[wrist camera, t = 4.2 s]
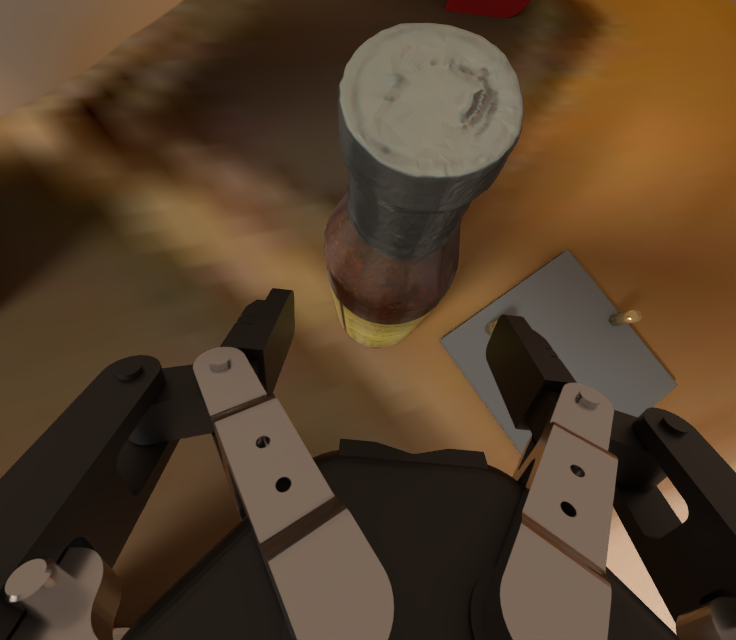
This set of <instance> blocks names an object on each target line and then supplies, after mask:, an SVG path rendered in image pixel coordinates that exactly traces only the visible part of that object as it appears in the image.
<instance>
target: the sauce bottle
mask: <svg viewBox="0 0 736 640" xmlns="http://www.w3.org/2000/svg"><path fill="white" fill-rule="evenodd" d="M523 115H524V106H523V96H522V92H521V88H520V85H519V81H518V77H517V74H516V72H515V71H514V70H513V68H512V67H511V65H510V63H509V61H508V59H507V57H506V56H505V54H504V53H502V52H501V51H500V50H499V49H498V48H497V47H496V46H495V45H493V44H492V43H490V42H489V41H488V40H487V39H485V38H484V37H482V36H480V35H477V34H475V33H472V32H469V31H467V30H463V29H460V28H457V27H454V26H451V25H443V24H434V23H406V24H399V25H396V26H394V27H391V28H388V29H385V30H382V31H380V32H379V33H377V34H376V35H375V36H373V37H371V38H369V39H368V40H367V41H366V42H364V43H363V44H362V45H361V46H360V47H359V48H358V49H357V50H356V51H355V53H354V54H353V56H352V57H351V59H350V60H349V62H348V63H347V65H346V67H345V69H344V72H343V75H342V78H341V82H340V84H339V86H338V121H339V143H340V150H341V153H342V156H343V158H344V162H345V164H346V166H347V168H348V169H349V186H348V189H347V190H348V192H347V193H346V194H345V196H344V197H343V199H342V200H341V201H340V203H339V204H338V205H337V207H336V208H335V209H334V210H333V212H332V214H331V216H330V218H329V221H328V223H327V227H326V230H325V232H324V235H325V246H324V248H325V255H326V261H327V272H328V279H329V283H330V286H331V290H332V294H333V297H334V301H335V305H336V309H337V312H338V316H339V319H340V322H341V325H342V327H343V328H344V329H345V330H346V332H347V334H348V335H349V336H350V337H351V338H352V339H354V340H355V341H357V342H359V343H360V344H363V345H366V346H368V347H372V348H382V347H387V346H391V345H394V344H396V343H398V342H400V341H401V340H403V339H404V338H406V337H407V336H408V335H409V334H410V333H411V332H412V331H413V330H414V329H415V327H416V326H417V325H418V324H419V323H420V322H421V321H422V320H423V319H424V318H425V317H426V316H427V315H428V314H429V313H430V312H431V311H432V310H433V309H434V308H435V307H436V306H437V304H438V303H439V302H440V301H441V300H442V298H443V297H444V296H445V294H446V292H447V291H448V289H449V287H450V285H451V283H452V281H453V279H454V276H455V273H456V270H457V266H458V259H459V240H460V222H461V219H462V216H463V214H464V213H465V212H466V211H467V209H468V207H469V205H470V203H471V202H472V200H474V199H475V198H477V197H478V196H479V195H480V194H481V193H483V192H484V191H486V190H487V189H488V188H489V187H490V186H491V184H492V183H493V182H494V181H495V179H496V178H497V176H498V175H499V173H500V171H501V169H502V168H503V166H504V164H505V162H506V160H507V158H508V156H509V155H510V153H511V152H512V150H513V148H514V147H515V145H516V143H517V142H518V139H519V136H520V133H521V129H522V121H523Z"/></svg>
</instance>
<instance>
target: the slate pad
mask: <svg viewBox="0 0 736 640" xmlns="http://www.w3.org/2000/svg"><path fill="white" fill-rule="evenodd" d="M617 313H619V312H618V310H617V309H616V308H615V307H614V306H613V304H612V303H611V302H610V301H609V299H608V298H607V297H606V296H605V294H604V293H603V292H602V291H601V289H600V288H599V287H598V286H597V284H596V283H595V282H594V281H593V280H592V278H591V277H590V276H589V275H588V273H587V272H586V271H585V270H584V268H583V267H582V266H581V265H580V263H579V262H578V261H577V260H576V259H575V257H574V256H573V255H572V254H571V252H570V251H569V250H566V251H565V252H563V253H562V254H560V255H559V256H557V257H556V258H555V259H553V260H552V261H550V262H549V263H548V264H546V265H545V266H543V267H542V268H541V269H539V270H538V271H536V272H535V273H533V274H532V275H531V276H529V277H528V278H526V279H525V280H524V281H522V282H521V283H519V284H518V285H517V286H515V287H514V288H512V289H511V290H509V291H508V292H507V293H505V294H504V295H502V296H501V297H500V298H498V299H497V300H495V301H494V302H493V303H491V304H490V305H488V306H487V307H485V308H484V309H483V310H481V311H480V312H478V313H477V314H476V315H474V316H473V317H471V318H470V319H469V320H467V321H466V322H464V323H463V324H461V325H460V326H459V327H457V328H456V329H454V330H453V331H452V332H450V333H449V334H447V335H446V336H445V337H443V338H442V339H440V340H439V341H440V342H441V343H442V345H443V346H444V348H445V349H446V350H447V352H448V353H449V355H450V356H451V357H452V359H453V360H454V362H455V363H456V364H457V366H458V367H459V369H460V370H461V371H462V373H463V374H464V375H465V377H466V378H467V380H468V381H469V382H470V384H471V385H472V387H473V388H474V389H475V391H476V392H477V394H478V395H479V396H480V398H481V399H482V401H483V402H484V403H485V405H486V406H487V408H488V409H489V410H490V412H491V413H492V414H493V416H494V417H495V419H496V420H497V421H498V423H499V424H500V426H501V427H502V428H503V430H504V431H505V433H506V434H507V435H508V437H509V438H510V440H511V441H512V442H513V444H514V445H515V446H516V448H517V449H518V451H519V452H520V453H521V455H522V453H523V451H524V449H525V446H526V444H527V442H528V440H529V438H530V437H531V435H532V433H531V431H530V430H520V429H515V426H514V424H513V422H512V419H511V417H510V415H509V412H508V410H507V407H506V405H505V403H504V400H503V398H502V396H501V393H500V391H499V389H498V386H497V384H496V382H495V379H494V377H493V374H492V372H491V370H490V367H489V365H488V363H487V360H486V348H487V344H488V342H489V340H490V337H491V335H488V334H487V333H486V331H485V326H486V325H487V324H488V323H491V322H493V321H496V320H498V318H499V317H500V316H501V315H502V314H505V315H514V316H522V317H524V318H525V320H526V321H527V322H528V324H529V325H530V327H531V328H532V330H535V331H536V332H537V333H539V334H540V335H541V336H542V337H544V338H545V339H546V340H547V341H548V343H549V344H550V346H551V347H552V348H553V351H555V353H556V354H557V355H558V358H559V359H561V361H562V362H563V364H564V365H565V366H566V368H567V369H568V371H569V372H570V373H571V375H572V376H573V378H574V379H575V380H576V382H577V383H580V384H584V385H586V386H589V387H591V388H593V389H595V390H597V391H598V392H600V393H601V394H602V395H604V396H605V397H606V398H607V399H608V400H609V401H610V403H611V404H612V406H613V409H614V410H617V411H620V412H623V413H626V414H629V415H632V416H635V417H639V416H640V415H641V414H642V413H643V412H644V411H645V410H646V409H647V408H652V407H653V406H654V405H655V404H656V403H657V402H658V401H660V400H661V399H662V398H663V397H664V396H665V395H667V394H668V393H669V392H670V391H671V390H672V389H674V388H675V387H676V386H677V383H676V382H675V381H674V380H673V378H672V377H671V376H670V375H669V374H668V372H667V371H666V370H665V369H664V367H663V366H662V365H661V364H660V362H659V361H658V360H657V359H656V357H655V356H654V355H653V354H652V352H651V351H650V350H649V349H648V348H647V346H646V345H645V344H644V343H643V341H642V340H641V339H640V338H639V336H638V335H637V334H636V333H635V331H634V330H633V329H632V328H631V327H630V325H629V324H625V325H620V326H613V325H611V324H610V322H609V317H610V316H611V315H613V314H617Z"/></svg>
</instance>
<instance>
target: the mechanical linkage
mask: <svg viewBox="0 0 736 640" xmlns="http://www.w3.org/2000/svg"><path fill="white" fill-rule="evenodd" d="M530 1H531V0H446V11H450V12H459V13H468V14H476V15H485V16H493V17H502V18H510V17H512V16H514V15H516V14H517V13H519V12H520V11H521V10H523V9H524V8H525V7H526V6H527V4H528V3H529V2H530Z"/></svg>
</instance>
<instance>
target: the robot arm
mask: <svg viewBox="0 0 736 640" xmlns="http://www.w3.org/2000/svg"><path fill="white" fill-rule="evenodd" d="M294 327H295V319H294V293H293V291H292V290H285V289H276V288H273V289H272V290H271V291H270V293H269V295H268V296H267V298H266V300H256V301H254V302H252V303H251V304H249V305H248V306H246V308H245V310H244V311H243V313H242V314H241V316H240V317H239V319H238V320H237V322H236V324H235V325H234V326H233V328H232V329H231V331H230V332H229V334H228V335H227V337H226V338H225V340H224V341H223V343H222V344H221V346H220V347H219V348H214V349H211V350H209V351H206V352H205V353H203V354H201V355H200V356H199V357H198V358H197V359H196V360H195V362H194V364H192V365H186V366H178V367H170V368H162V367H161V364H160V362H159V361H158V360H157V359H156V358H154V357H151V356H146V355H138V356H131V357H127V358H124V359H121V360H118V361H116V362H114V363H112V364H111V365H109V366H108V367H106V368H105V369H104V370H103V371H102V372H101V373H100V374H99V375H98V376H97V377H96V378H95V379H94V380H93V381H92V382H91V384H90V385H89V386H88V387H87V388H86V389H85V390H84V391H83V392H82V393H81V394H80V395H79V396H78V397H77V398H76V399H75V400H74V402H73V403H72V404H71V405H70V406H69V407H68V408H67V409H66V410H65V411H64V412H63V413H62V414H61V415H60V416H59V417H58V418H57V420H56V421H55V422H54V423H53V424H52V425H51V426H50V427H49V428H48V429H47V430H46V431H45V432H44V433H43V434H42V435H41V436H40V438H39V439H38V440H37V441H36V442H35V443H34V444H33V445H32V446H31V447H30V448H29V449H28V450H27V451H26V452H25V453H24V454H23V456H22V457H21V458H20V459H19V460H18V461H17V462H16V463H15V464H14V465H13V466H12V467H11V468H10V469H9V470H8V471H7V472H6V474H5V475H4V476H3V477H2V478H1V479H0V640H113V624H114V619H115V616H116V613H117V610H118V607H119V604H120V601H121V596H122V584H121V580H120V578H119V576H118V575H117V574H116V573H115V572H114V570H113V569H112V568H113V566H114V564H115V562H116V560H117V558H118V556H119V555H120V553H121V551H122V549H123V547H124V545H125V543H126V541H127V539H128V537H129V535H130V534H131V532H132V530H133V528H134V526H135V524H136V522H137V520H138V518H139V516H140V514H141V512H142V511H143V509H144V507H145V505H146V503H147V501H148V499H149V497H150V495H151V493H152V491H153V490H154V488H155V486H156V484H157V482H158V480H159V478H160V476H161V474H162V472H163V470H164V469H165V467H166V465H167V463H168V461H169V459H170V457H171V455H172V453H173V451H174V449H175V447H176V446H177V444H178V442H179V440H180V439H182V438H188V437H193V436H198V435H204V434H209V433H211V435H212V438H213V441H214V443H215V446H216V449H217V452H218V455H219V458H220V460H221V463H222V466H223V469H224V472H225V475H226V477H227V480H228V483H229V486H230V490H231V493H232V496H233V499H234V502H235V505H236V508H237V511H238V514H239V517H240V520H241V522H240V523H239V524H238V525H237V526H236V527H234V528H233V529H232V530H231V531H230V532H229V533H228V534H227V535H226V536H225V537H224V538H223V539H222V540H221V541H220V542H219V543H218V544H216V545H215V546H214V547H213V548H212V549H211V550H210V551H209V552H208V553H207V554H206V555H205V556H204V557H203V558H202V559H201V560H200V561H198V562H197V563H196V564H195V565H194V566H193V567H192V568H191V569H190V570H189V571H188V572H187V573H186V574H185V575H184V576H183V577H182V578H180V579H179V580H178V581H177V582H176V583H175V584H174V585H173V586H172V587H171V588H170V589H169V590H168V591H167V592H166V593H165V594H164V595H163V596H161V597H160V598H159V599H158V600H157V601H156V602H155V603H154V604H153V605H152V606H151V607H150V608H149V609H148V610H147V611H146V612H145V613H144V614H143V615H141V616H140V617H139V618H138V620H137V621H136V622H135V623H134V624H133V625H132V626H131V627H130V629H129V630H128V631H127V632H126V633H125V635H124V636H123V637H122V638H121V640H736V472H735V471H734V470H733V469H732V468H731V467H730V466H729V465H728V464H727V463H726V462H725V461H724V459H723V458H722V457H721V456H720V455H719V454H718V453H717V452H716V451H715V450H714V449H713V447H712V446H711V445H710V444H709V443H708V442H707V441H706V440H705V439H704V438H703V437H702V435H701V434H700V433H699V432H698V431H697V430H696V429H695V428H694V427H693V426H692V425H690V424H689V423H688V422H686V421H685V420H684V419H682V418H680V417H679V416H677V415H675V414H673V413H671V412H668V411H666V410H663V409H659V408H647V409H646V410H645V411H644V412H643V413H642V414H641V415H640V416H639V417H635V416H632V415H629V414H626V413H623V412H620V411H617V410H614V409H613V406H612V404H611V403H610V401H609V400H608V399H607V398H606V397H605V396H604V395H602V394H601V393H600V392H598V391H597V390H595V389H593V388H591V387H589V386H586V385H584V384H580V383H577V382H576V380H575V379H574V378H573V376H572V375H571V373H570V372H569V371H568V369H567V368H566V366H565V365H564V364H563V362H562V361H561V359H559V358H558V355H557V354H556V353H555V351H553V348H552V347H551V346H550V344H549V343H548V341H547V340H546V339H545V338H544V337H542V336H541V335H540V334H539V333H537V332H536V331H535V330H532V328H531V327H530V325H529V324H528V322H527V321H526V320H525V318H524V317H522V316H514V315H505V314H502V315H501V316H500V317H499V318H498V320H497V323H496V325H495V328H494V330H493V332H492V335H491V337H490V340H489V342H488V344H487V348H486V360H487V363H488V365H489V367H490V370H491V372H492V374H493V377H494V379H495V382H496V384H497V386H498V389H499V391H500V393H501V396H502V398H503V400H504V403H505V405H506V407H507V410H508V412H509V415H510V417H511V419H512V422H513V424H514V426H515V429H520V430H530V431H531V433H532V435H531V437H530V438H529V440H528V442H527V444H526V446H525V449H524V451H523V453H522V456H521V458H520V460H519V463H518V465H517V467H516V470H515V472H514V474H513V477H511V476H509V475H508V474H506V473H504V472H503V471H501V470H499V469H497V468H495V467H492V466H490V465H487V461H486V458H485V455H484V452H478V451H467V450H456V449H445V450H439V451H432V452H426V453H420V454H411V453H408V452H405V451H402V450H398V449H395V448H392V447H389V446H386V445H383V444H380V443H377V442H370V441H360V440H349V439H340V446H339V450H336V451H331V452H327V453H324V454H321V455H319V456H316V457H314V458H312V457H311V455H310V453H309V452H308V450H307V448H306V447H305V445H304V443H303V441H302V440H301V438H300V436H299V435H298V433H297V431H296V430H295V428H294V426H293V424H292V423H291V421H290V419H289V418H288V416H287V414H286V413H285V411H284V409H283V408H282V406H281V404H280V402H279V401H278V399H277V398H276V396H275V395H274V394H273V391H274V388H275V385H276V383H277V380H278V377H279V375H280V372H281V369H282V366H283V364H284V361H285V358H286V356H287V353H288V350H289V348H290V345H291V342H292V339H293V335H294ZM667 476H668V478H669V479H670V481H671V482H672V483H673V485H674V486H675V488H676V489H677V490H678V492H679V493H680V494H681V496H682V497H683V499H684V500H685V502H686V504H687V506H688V510H689V515H688V519H687V520H686V521H685V522H684V523H681V521H680V520H679V518H678V517H677V516H676V514H675V513H674V511H673V510H672V508H671V507H670V505H669V504H668V502H667V501H666V499H665V498H664V496H663V495H662V493H661V492H660V490H659V489H658V487H657V486H656V485H658V484H659V483H660V482H661V481H662V480H664V479H665V478H666V477H667ZM613 507H614V509H615V510H616V512H617V514H618V516H619V518H620V520H621V522H622V524H623V526H624V527H625V529H626V531H627V533H628V535H629V537H630V539H631V541H632V542H633V544H634V546H635V548H636V550H637V552H638V554H639V556H640V557H641V559H642V561H643V563H644V565H645V567H646V569H647V571H648V572H649V574H650V576H651V578H652V580H653V582H654V584H655V586H656V587H657V589H658V591H659V593H660V595H661V597H662V599H663V601H664V602H665V604H666V606H667V608H668V610H669V612H670V614H671V616H672V617H673V619H674V621H675V623H676V633H677V635H676V634H675V633H674V632H673V631H672V630H671V629H670V628H669V627H668V626H667V625H666V624H665V623H664V622H663V621H662V620H661V619H659V618H658V617H657V616H656V615H655V614H654V613H653V612H652V611H651V610H650V609H649V608H648V607H647V606H646V605H645V604H644V603H643V602H642V601H641V600H640V599H639V598H638V597H637V596H636V595H635V594H634V593H633V592H632V591H631V590H630V589H629V588H628V587H627V586H626V585H625V584H624V583H623V582H622V581H621V580H620V579H619V578H617V577H616V576H615V575H614V574H613V573H612V572H611V571H610V570H609V569H608V568H607V567H606V559H607V551H608V542H609V534H610V525H611V517H612V508H613Z"/></svg>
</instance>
